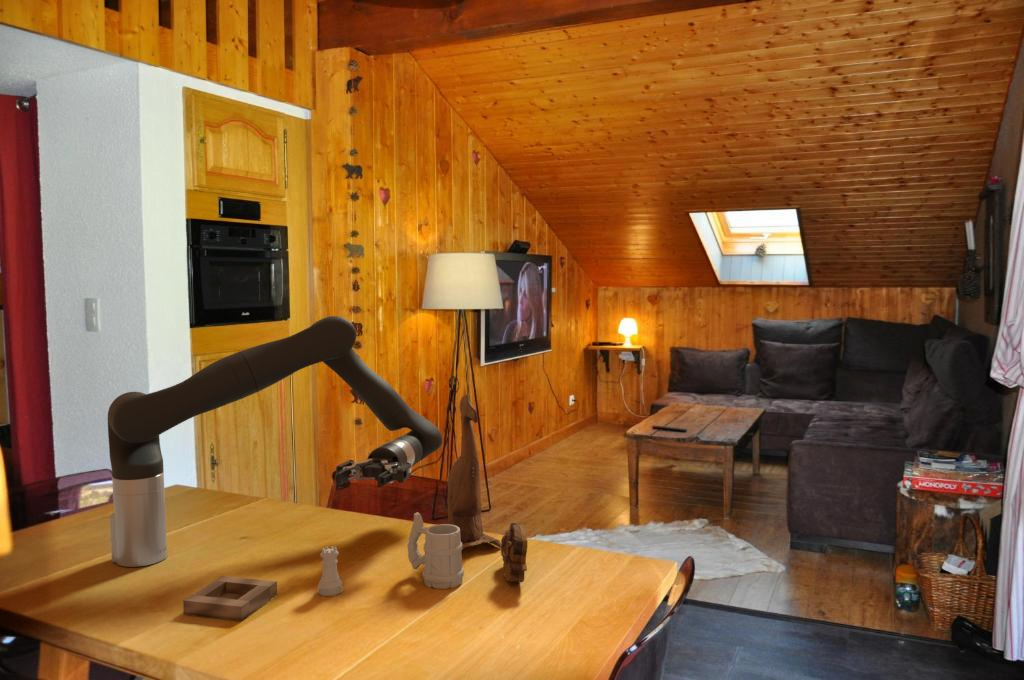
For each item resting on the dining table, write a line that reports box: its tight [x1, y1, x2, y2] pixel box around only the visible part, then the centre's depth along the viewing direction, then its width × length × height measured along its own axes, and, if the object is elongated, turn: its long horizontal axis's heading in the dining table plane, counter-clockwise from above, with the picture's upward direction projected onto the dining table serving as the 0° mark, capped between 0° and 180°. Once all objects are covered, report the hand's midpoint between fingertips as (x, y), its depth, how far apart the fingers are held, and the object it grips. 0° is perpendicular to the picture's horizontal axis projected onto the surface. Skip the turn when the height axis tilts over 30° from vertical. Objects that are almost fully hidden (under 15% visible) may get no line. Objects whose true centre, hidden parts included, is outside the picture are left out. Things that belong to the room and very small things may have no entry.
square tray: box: [182, 575, 278, 622], centre depth 139 cm, size 11×11×2 cm
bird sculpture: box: [447, 394, 501, 550], centre depth 166 cm, size 11×12×32 cm
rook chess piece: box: [317, 545, 344, 597], centre depth 144 cm, size 4×4×8 cm
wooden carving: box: [500, 522, 528, 583], centre depth 150 cm, size 16×5×10 cm, turn 12°
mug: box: [407, 511, 465, 590], centre depth 150 cm, size 8×12×12 cm, turn 59°
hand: (358, 480), depth 155 cm, fingers open, 8 cm apart
